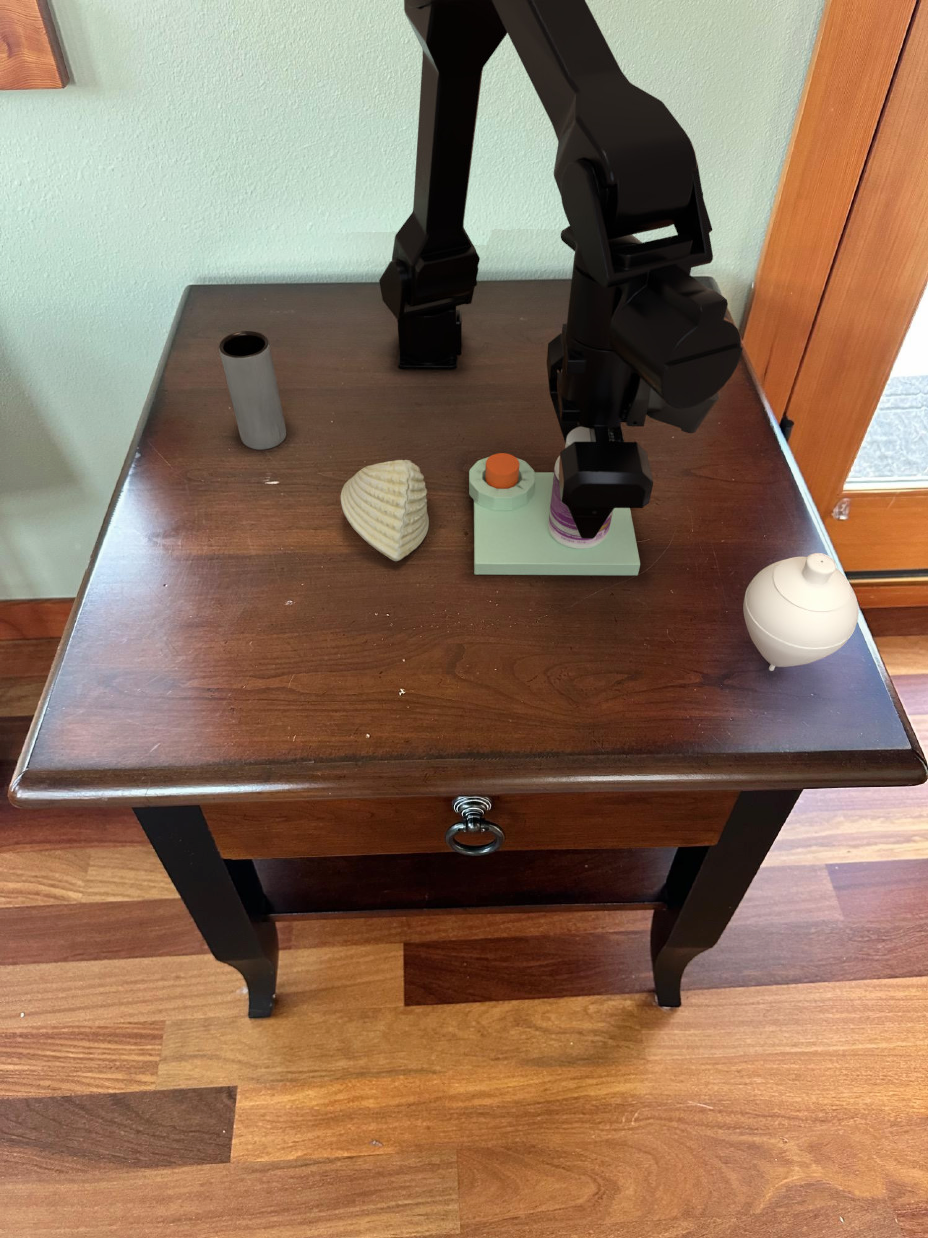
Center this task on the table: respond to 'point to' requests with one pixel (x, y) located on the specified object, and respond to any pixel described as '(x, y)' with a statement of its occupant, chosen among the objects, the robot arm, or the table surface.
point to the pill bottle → (559, 513)
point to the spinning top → (800, 610)
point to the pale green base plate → (539, 532)
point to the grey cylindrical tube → (253, 389)
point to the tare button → (502, 471)
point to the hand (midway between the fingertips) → (582, 498)
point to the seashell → (388, 507)
